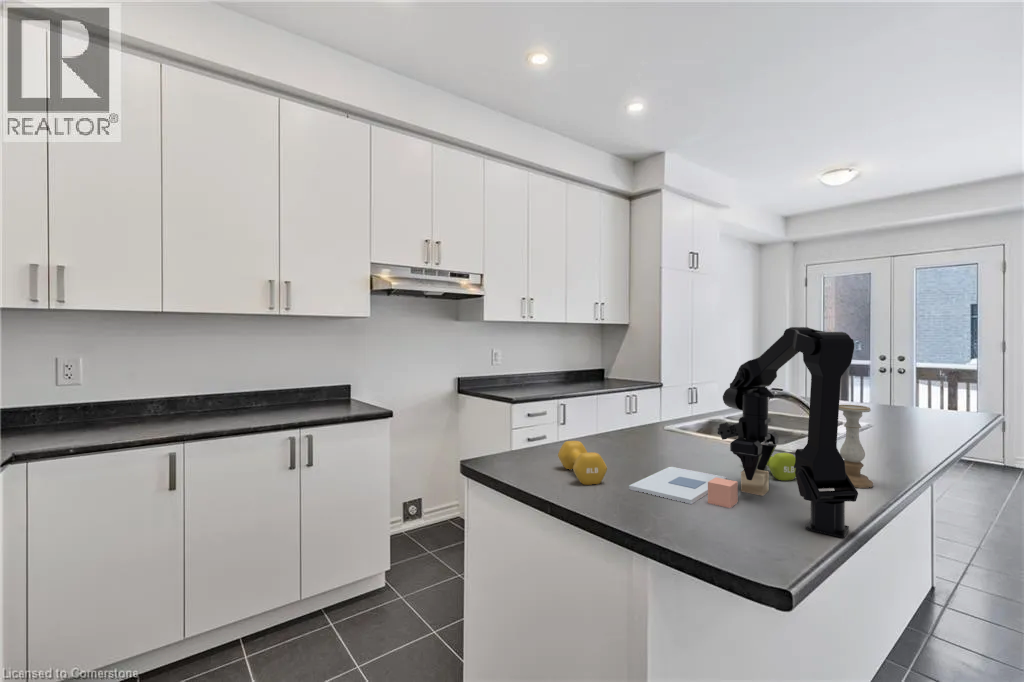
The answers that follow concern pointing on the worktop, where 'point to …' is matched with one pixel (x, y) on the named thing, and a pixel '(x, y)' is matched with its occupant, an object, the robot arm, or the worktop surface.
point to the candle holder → (854, 446)
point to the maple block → (755, 483)
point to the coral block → (723, 492)
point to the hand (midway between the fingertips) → (755, 475)
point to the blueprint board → (676, 484)
